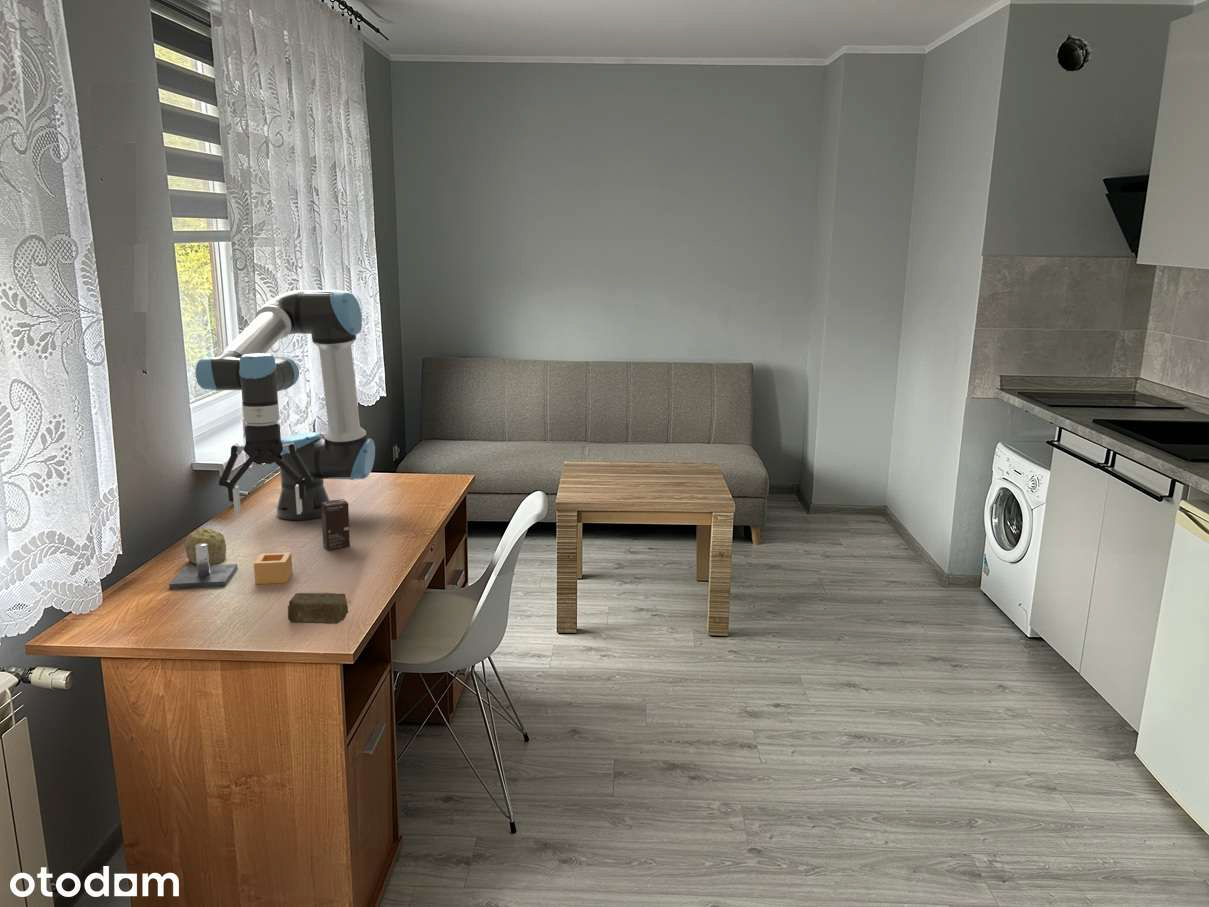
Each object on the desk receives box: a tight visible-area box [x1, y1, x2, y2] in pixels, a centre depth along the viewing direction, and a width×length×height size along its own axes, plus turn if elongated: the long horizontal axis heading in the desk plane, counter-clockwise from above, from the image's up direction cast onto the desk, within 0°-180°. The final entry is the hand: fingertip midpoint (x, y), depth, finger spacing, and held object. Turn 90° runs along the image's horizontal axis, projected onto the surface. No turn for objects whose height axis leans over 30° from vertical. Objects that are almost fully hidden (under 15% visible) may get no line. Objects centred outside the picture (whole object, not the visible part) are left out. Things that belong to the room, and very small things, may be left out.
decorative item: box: [184, 527, 227, 565], centre depth 227 cm, size 10×10×10 cm
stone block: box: [287, 592, 349, 625], centre depth 191 cm, size 6×12×5 cm, turn 89°
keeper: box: [168, 543, 239, 590], centre depth 214 cm, size 12×12×8 cm
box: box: [321, 498, 351, 551], centre depth 236 cm, size 6×4×12 cm
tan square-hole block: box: [253, 551, 293, 585], centre depth 214 cm, size 7×7×5 cm
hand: (269, 514), depth 211 cm, fingers open, 13 cm apart
